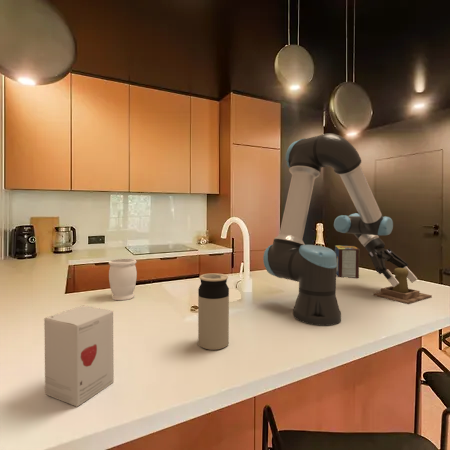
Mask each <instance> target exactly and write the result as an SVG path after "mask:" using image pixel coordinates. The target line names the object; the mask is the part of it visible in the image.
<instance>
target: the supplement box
mask: <svg viewBox="0 0 450 450" xmlns="http://www.w3.org/2000/svg"><path fill="white" fill-rule="evenodd" d="M43 320H44V323H43V326H44V327H43V328H44V386H45V387H44V393H45V394H44V395H46V396H49V397H52V398H54V399H57V400H59V401H61V402H64V403H66V404H69V405H71V406H74V407H77V408H78V407H79V406H81V405H82V404H84V403H85V402H86V401H88V400H90V399H91V398H92V397H94V396H96V394H98V393H100V392H101V391H103V390H104V389H106V388H107V387H109V386H110V385H111V384H114V380H115V379H114V378H115V377H114V365H115V364H114V310H111V309H107V308H100V307H96V306H95V307H94V306H92V305H91V306H90V305H85V304H84V305H80V306H77V307H74V308H71V309H67V310H65V311H64V310H63V311H62V312H59V313H56V314H52V315H49V316H47V317H45V318H44V319H43Z"/></svg>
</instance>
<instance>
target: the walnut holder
mask: <svg viewBox="0 0 450 450" xmlns="http://www.w3.org/2000/svg"><path fill="white" fill-rule="evenodd" d="M408 291H409V293H400V292H396V291H393V286H392V285H390V286H386V287H382V288H380V291H377V292H374V293H373V296H374V297H375V296H376V297H378V298H382V299H387V300H391V301H394V302H398V303H402V304H406V305H410V304H414V303H417V302H420V301H421V302H422V301H425V300H427V299H431V298H432V297H433V295H432V294H427V293H422V292H421V291H420V290H417V289H412V288H408Z"/></svg>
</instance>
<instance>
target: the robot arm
mask: <svg viewBox="0 0 450 450" xmlns="http://www.w3.org/2000/svg"><path fill="white" fill-rule="evenodd" d="M285 161H286V166H287V167H288V172H289V173H290V174H291V179H290V183H289V188H288V192H287V196H286V202H285V205H284V210H283V215H282V219H281V223H280V224H281V225H280V229H279V234H278V235H277V236H275V237H274V239H273V241H272V242H273V243H272V244H270V245H268V246H267V247H266V248H265V250H264V252H263V257H262V259H263V260H262V261H263V265H264V269H265V270H266V271H267V273H268V274H270V275H271V276H274V277H277V278H278V279H284V280H289V281H293V282H297V283H298V294H297V298H296V300H295V304H294V306H293V309H292V312H293V313H292V315H293V318H295V319H296V320H298V321H300V322H302V323H305V324H309V325H314V326H331V325H332V326H333V325H336V324H339V323H340V322H341V321H342V313H341V309H340V307H339V303H338V299H337V296H336V295H337V274H336V267H337V261H336V253H335V250H333V249H332V248H329V247H326V246H321V245H315V244H305V242H304V240H303V237H304V234H305V228H306V223H307V218H308V215H309V208H310V203H311V200H312V194H313V191H314V190H313V189H314V185H315V180H316V179H317V178H319V177H320V176H321V171H322V168H327V167H328V168H329V167H330V168H332V170H333V171H334V173H335V174H336V175H339V177H340V179H341V181H342V183H343V185H344V188H345V189H346V191H347V192H348V195H349V197H350V200H351V201H352V203H353V205H354V207H355V209H356V211H357V212H358V213H356V212H355V213H351V214H349V215H346V214H345V215H343V214H341V215H338V216H337V217H336V218H335V219H334V222H333V227H334V229H335V231H336V232H338V233H341V234H352V235H354V236H355V238H356V239H357V240H358V241H359V242H360V244H361V245H362V246H363V247H364V248H365V249H366V251H367V252H368V256H369V257H370V259H371V262H372V265H373V266H374V269H375V271H376V272H377V273H378V274H379V275H383V276H384V277H385V278H386V280H387V281H388V282H389V284H390V286H393V287H395V286H396V285H398V284H399V282H398V281H397V279H396V278H395V275H394V273H393V274H392V272H391V271H390V269H387V267H386V262H390V263H391V264H393V265H395V266H396V267H397V268H405V269H407V270H408V276H407V280H409V282H410V283H415V282H416V281H417V280H418V278H417V276H416V275H415V274H414V273H413V272H412V271H411V270H410V269H409V268H408V266H409V263H408V262H407V261H405V259H403V258H402V257H400V256H399V255H398V254H397V253H396V252H395V251H393V250H392V249H391V248H388V249H386V248H385V246H386V244H385V242H384V241H383V240H382V239H381V237H380V236H388V235H389V236H390V234H392V231H393V228H394V221H393V219H392V218H391V217H390V216H386V215H385V216H383V213H382V212H381V209H380V207H379V205H378V203H377V200H376V198H375V196H374V194H373V191H372V189H371V186H370V185H369V183H368V179H367V178H366V175H365V173H364V171H363V169H362V167H361V165H362V158H361V156H360V154H359V152H358V151H357V149H356V148H355V146H353V144H352V143H350V141H349V140H347V139H346V138H344V137H343V136H341V135H338V134H336V133H330V132H329V133H323V134H320V135H316V136H315V135H314V136H311V137H308V138H300V139H298V140H295V141H293V142H292V143H291V144H290V145H289V146H288V148H287V150H286V152H285Z"/></svg>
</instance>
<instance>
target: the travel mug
mask: <svg viewBox="0 0 450 450" xmlns="http://www.w3.org/2000/svg"><path fill="white" fill-rule="evenodd" d="M199 279H200V285H199V287H198V290H197V291H198V292H197V293H198V298H197V299H198V302H197V303H198V304H197V305H198V307H197V308H198V311H197V312H198V315H197V317H198V320H197V321H198V324H197V326H198V330H197V331H198V336H197V337H198V339H197V341H198V343H197V345H198V346H199V347H201V348H203V349H205V350H209V351H218V350H220V349H224V348H225V347H227V346H229V343H230V342H229V341H230V340H229V338H230V337H229V334H230V333H229V332H230V331H229V329H230V327H229V326H230V325H229V323H230V319H229V318H230V316H229V315H230V311H229V310H230V306H229V305H230V303H229V302H230V288H229V286H228V285H227V281H228V279H229V276H228V275H227V274H225V273H224V274H223V273H215V272H214V273H204V274H201V275H199Z"/></svg>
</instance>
